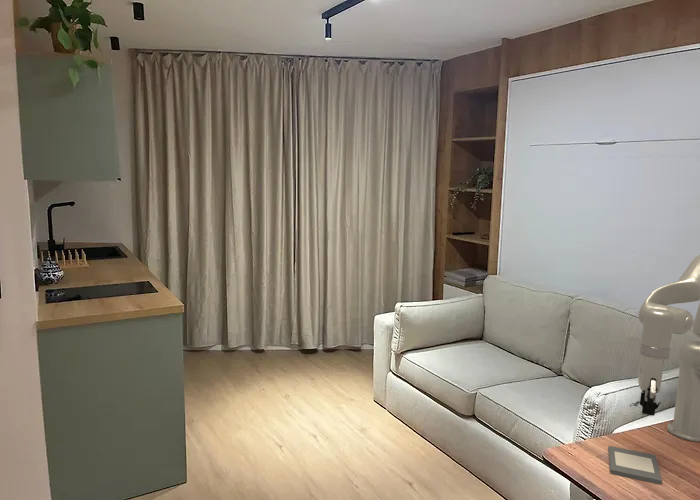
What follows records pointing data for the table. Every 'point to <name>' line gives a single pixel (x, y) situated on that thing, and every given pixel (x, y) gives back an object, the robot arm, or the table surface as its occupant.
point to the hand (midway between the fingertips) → (646, 409)
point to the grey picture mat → (634, 465)
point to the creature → (642, 404)
